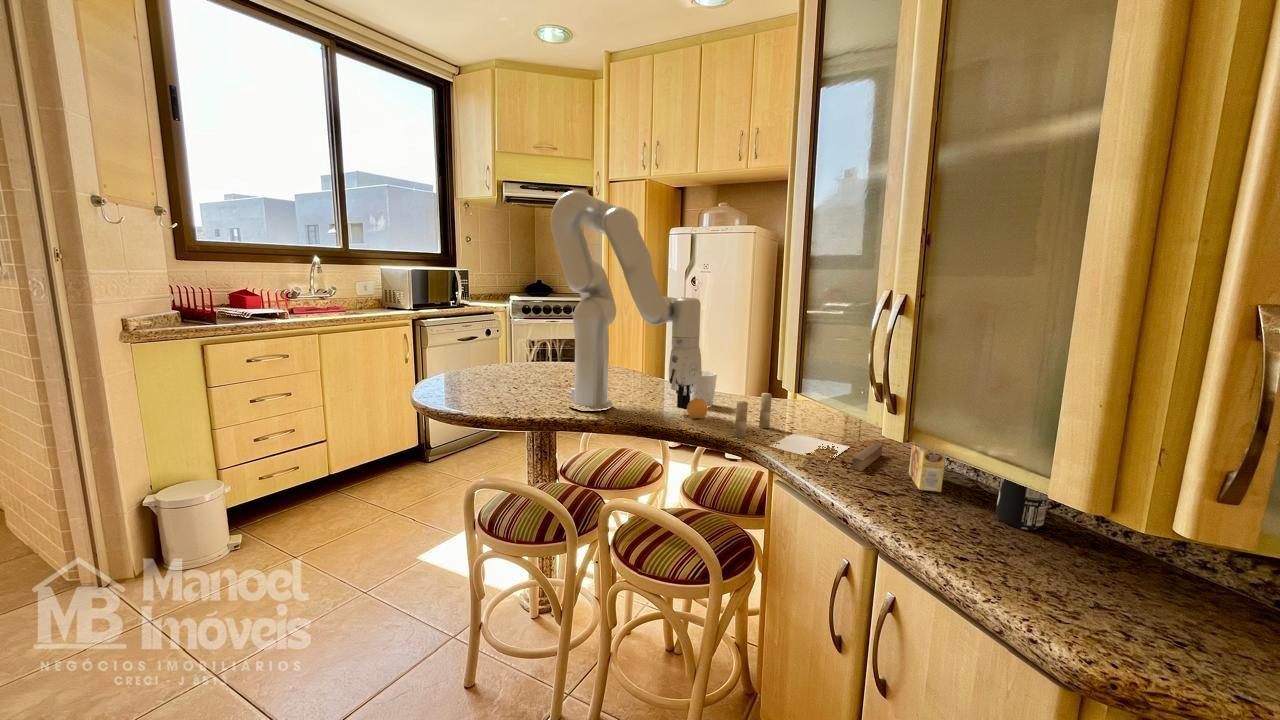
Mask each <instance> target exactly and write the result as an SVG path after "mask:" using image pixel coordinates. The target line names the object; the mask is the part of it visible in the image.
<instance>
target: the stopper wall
mask: <svg viewBox="0 0 1280 720" xmlns="http://www.w3.org/2000/svg"><path fill="white" fill-rule="evenodd" d="M883 446H884V445H883V444H881V443H879V442H878V443H876V442H872V443H871V444H869V445H868V446H867V447H866V448H864V449H863V450H861V451H860V452H858V454H856V455H854V456H853V457H852V464H851V470H853V469H855V470H854V471H857V470H858V472H861V471H862V472H863V471H864V470H865V469H866V467H867V468H868V467H869V466H871V464H872V463H874V462H875V461H876V460H877V459H879V458H880V457H881V456H883V455H882V453H883Z"/></svg>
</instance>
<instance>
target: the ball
mask: <svg viewBox="0 0 1280 720" xmlns="http://www.w3.org/2000/svg"><path fill="white" fill-rule="evenodd" d="M686 412H687V415H688V416H689V417H690V418H692V417H693V418H692V419H694V418H701V419H702V418H704V417H705V416H706V415H707V413H708V408H707V404H706V403H705V402H704V401H703V400H702V399H698V398H696V399H693V400H691V399H690V402H689V403H688V405H687V409H686Z"/></svg>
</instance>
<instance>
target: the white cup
mask: <svg viewBox="0 0 1280 720" xmlns="http://www.w3.org/2000/svg"><path fill="white" fill-rule="evenodd" d="M717 377H718V373H717V372H715V371H709V370H701V380H700V381H699V382H698V383H696V385H694V386H693V387H692V392H691V394H690V401H691V400H693V399H696V398H698V399H702V400H703V401H704V402H705V403H706V404H707V406H712V405H713V406H714V398H715V393H716V386H717V385H716V384H717Z"/></svg>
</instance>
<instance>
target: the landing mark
mask: <svg viewBox="0 0 1280 720" xmlns="http://www.w3.org/2000/svg"><path fill="white" fill-rule="evenodd" d="M776 442H777V443H778V442H779V443H780V444H777V445H776ZM776 442H775V445H776V447H775V445H774V443H772V444H773V446H772V444H770V445H769V446H770V447H769V448H771V447H774V448H778V449H781V450H780V451H782V450H784V451H783V452H786V451H788V452H787V453H790V452H792V453H791V454H793V453H796V454H795V455H797V454H801V455H802V454H803V455H806V454H805V453H811V452H812V453H813V452H815V451H814V450H816V449H818V448H819V447H818V446H821V447H820V448H821V449H822V446H824V447H826V448H827V445H829V447H830V448H832V446H835V447H834V449H835V450H837V451H838V453H837V455H836V454H835V455H834V456H835V457H836V456H837V457H839V456H840V455H842V454H843V453H845V452H846V451H847V450H849V449H850V448H851V446H849V445H844V444H841V443H836V442H831V441H828V440H823V439H819V438H816V437H810V436H807V435H802V434H798V433H795V432H794V433H792V434H790V435H788V436H785V437H784V438H782V439H780V440H778V441H776ZM822 444H823V445H822ZM832 444H833V445H832ZM824 447H823V448H824ZM837 447H838V448H837ZM774 448H773V449H774ZM826 448H824V449H826ZM848 448H849V449H848ZM778 449H777V450H778ZM830 450H831V449H830ZM845 450H846V451H845ZM844 451H845V452H844ZM842 452H843V453H842ZM812 453H811V454H812ZM841 453H842V454H841ZM839 454H840V455H839ZM801 455H800V456H801ZM838 455H839V456H838ZM834 456H833V457H834ZM830 457H831V456H830ZM835 457H834V459H836V458H837V457H836V458H835ZM827 462H828V461H827ZM827 462H826V463H827Z"/></svg>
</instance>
